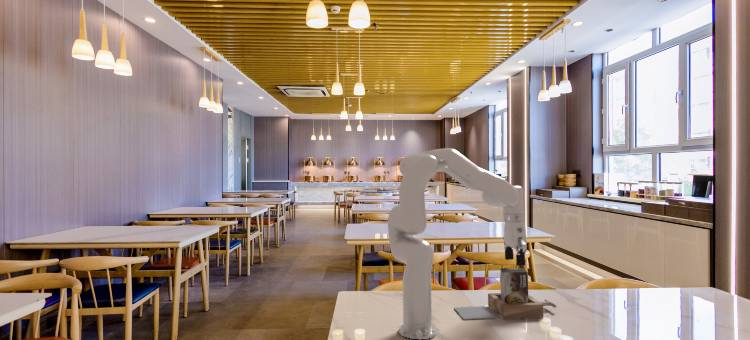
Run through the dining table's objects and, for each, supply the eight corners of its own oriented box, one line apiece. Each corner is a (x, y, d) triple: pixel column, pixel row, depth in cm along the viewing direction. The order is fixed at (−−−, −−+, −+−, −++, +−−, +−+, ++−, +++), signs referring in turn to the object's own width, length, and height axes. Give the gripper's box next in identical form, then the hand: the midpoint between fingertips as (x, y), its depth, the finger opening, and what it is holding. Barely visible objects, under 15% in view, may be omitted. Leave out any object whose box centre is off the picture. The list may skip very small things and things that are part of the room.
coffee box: (524, 309, 155) (523, 267, 155) (529, 315, 149) (528, 271, 149) (500, 308, 156) (500, 267, 156) (504, 314, 149) (503, 271, 150)
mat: (495, 318, 145) (495, 317, 145) (463, 320, 144) (463, 318, 144) (483, 307, 157) (483, 306, 157) (453, 308, 156) (453, 307, 156)
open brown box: (563, 316, 146) (562, 303, 146) (504, 319, 144) (503, 305, 144) (541, 303, 161) (541, 291, 161) (488, 305, 159) (487, 293, 159)
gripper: (534, 220, 144) (535, 267, 144) (512, 214, 161) (514, 256, 162) (514, 221, 144) (515, 268, 144) (495, 215, 161) (496, 257, 161)
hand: (514, 262), depth 153 cm, fingers open, 9 cm apart
